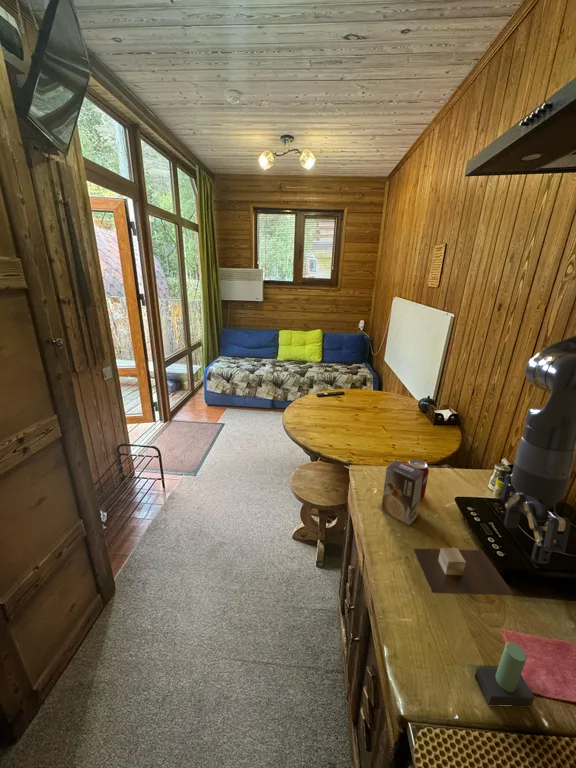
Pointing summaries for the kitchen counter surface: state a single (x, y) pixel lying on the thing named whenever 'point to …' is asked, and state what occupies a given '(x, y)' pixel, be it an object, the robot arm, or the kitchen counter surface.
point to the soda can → (423, 467)
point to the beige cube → (451, 561)
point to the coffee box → (402, 491)
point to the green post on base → (506, 679)
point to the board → (474, 579)
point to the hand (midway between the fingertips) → (523, 543)
